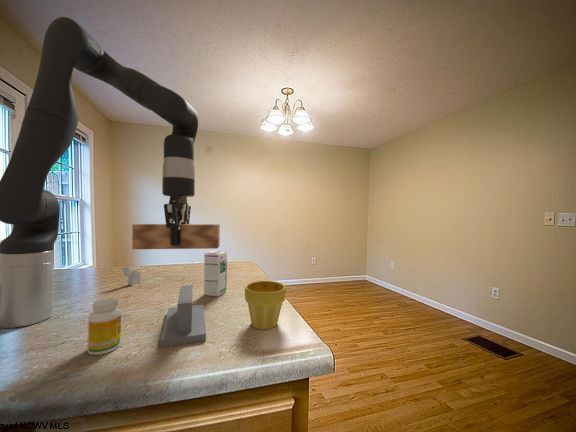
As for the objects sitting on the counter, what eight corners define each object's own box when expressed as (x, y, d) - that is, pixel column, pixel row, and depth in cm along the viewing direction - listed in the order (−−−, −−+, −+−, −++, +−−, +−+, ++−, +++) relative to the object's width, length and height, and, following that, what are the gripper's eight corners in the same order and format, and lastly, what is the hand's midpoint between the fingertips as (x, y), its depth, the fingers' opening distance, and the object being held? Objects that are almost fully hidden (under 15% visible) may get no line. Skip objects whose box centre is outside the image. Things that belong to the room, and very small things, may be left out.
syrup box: (219, 296, 81) (220, 253, 81) (203, 295, 82) (204, 252, 82) (226, 291, 87) (227, 251, 87) (211, 290, 88) (212, 250, 88)
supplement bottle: (85, 348, 49) (86, 301, 49) (117, 338, 53) (118, 295, 53) (89, 359, 45) (91, 308, 45) (123, 348, 49) (124, 301, 49)
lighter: (137, 282, 94) (137, 262, 94) (140, 282, 94) (141, 262, 94) (120, 287, 87) (121, 265, 87) (124, 288, 87) (124, 266, 87)
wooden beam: (219, 246, 66) (219, 224, 65) (217, 248, 62) (217, 225, 62) (139, 247, 62) (139, 223, 62) (132, 249, 58) (132, 224, 58)
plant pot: (268, 338, 55) (269, 295, 55) (235, 325, 61) (236, 286, 60) (292, 321, 64) (293, 284, 64) (261, 312, 69) (262, 278, 69)
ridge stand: (159, 347, 50) (160, 309, 50) (168, 313, 67) (169, 284, 67) (205, 340, 53) (206, 304, 53) (202, 309, 70) (203, 282, 70)
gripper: (186, 173, 55) (185, 248, 55) (200, 181, 69) (200, 241, 70) (151, 172, 54) (151, 248, 54) (173, 180, 68) (172, 241, 69)
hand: (178, 244), depth 62 cm, fingers closed on wooden beam, 4 cm apart
